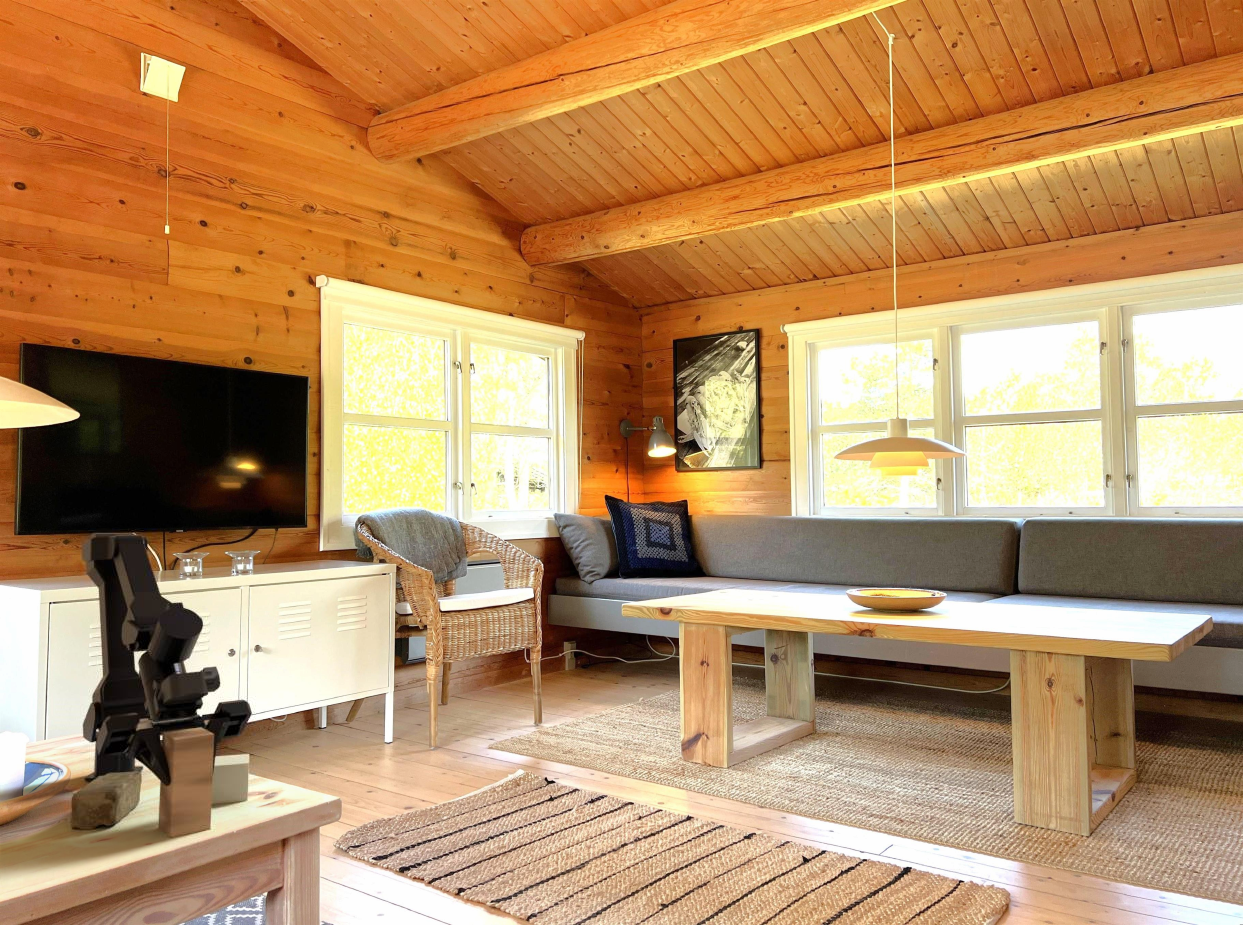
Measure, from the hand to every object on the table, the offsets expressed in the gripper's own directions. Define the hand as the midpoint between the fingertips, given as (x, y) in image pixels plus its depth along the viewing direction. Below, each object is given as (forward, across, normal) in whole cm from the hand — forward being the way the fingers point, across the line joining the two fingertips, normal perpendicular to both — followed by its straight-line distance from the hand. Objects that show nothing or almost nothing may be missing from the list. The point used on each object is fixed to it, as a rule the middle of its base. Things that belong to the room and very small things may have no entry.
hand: (190, 780), depth 124 cm
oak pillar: (+4, 0, +6) cm, 7 cm away
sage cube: (-3, +9, +13) cm, 16 cm away
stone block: (-4, -6, +14) cm, 16 cm away
